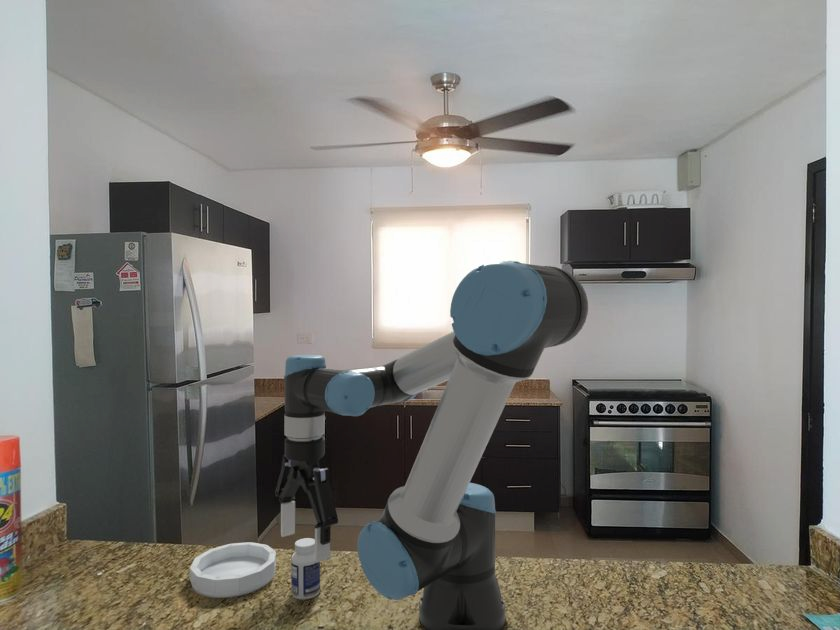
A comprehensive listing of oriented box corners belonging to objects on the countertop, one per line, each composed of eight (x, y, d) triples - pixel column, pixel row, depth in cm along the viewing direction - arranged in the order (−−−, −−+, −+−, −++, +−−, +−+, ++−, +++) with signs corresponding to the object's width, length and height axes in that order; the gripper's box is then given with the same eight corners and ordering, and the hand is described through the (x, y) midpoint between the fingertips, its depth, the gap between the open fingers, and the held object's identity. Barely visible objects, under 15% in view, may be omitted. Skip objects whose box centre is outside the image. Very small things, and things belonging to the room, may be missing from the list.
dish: (289, 578, 108) (288, 561, 108) (208, 607, 98) (207, 588, 98) (255, 551, 121) (255, 536, 121) (180, 574, 110) (180, 557, 110)
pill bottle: (323, 586, 105) (323, 536, 105) (315, 601, 100) (315, 548, 100) (296, 585, 106) (296, 535, 106) (287, 599, 101) (287, 547, 101)
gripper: (358, 446, 96) (357, 565, 96) (292, 422, 115) (291, 521, 115) (320, 454, 91) (319, 578, 91) (258, 427, 110) (258, 530, 110)
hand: (304, 546), depth 103 cm, fingers open, 13 cm apart
